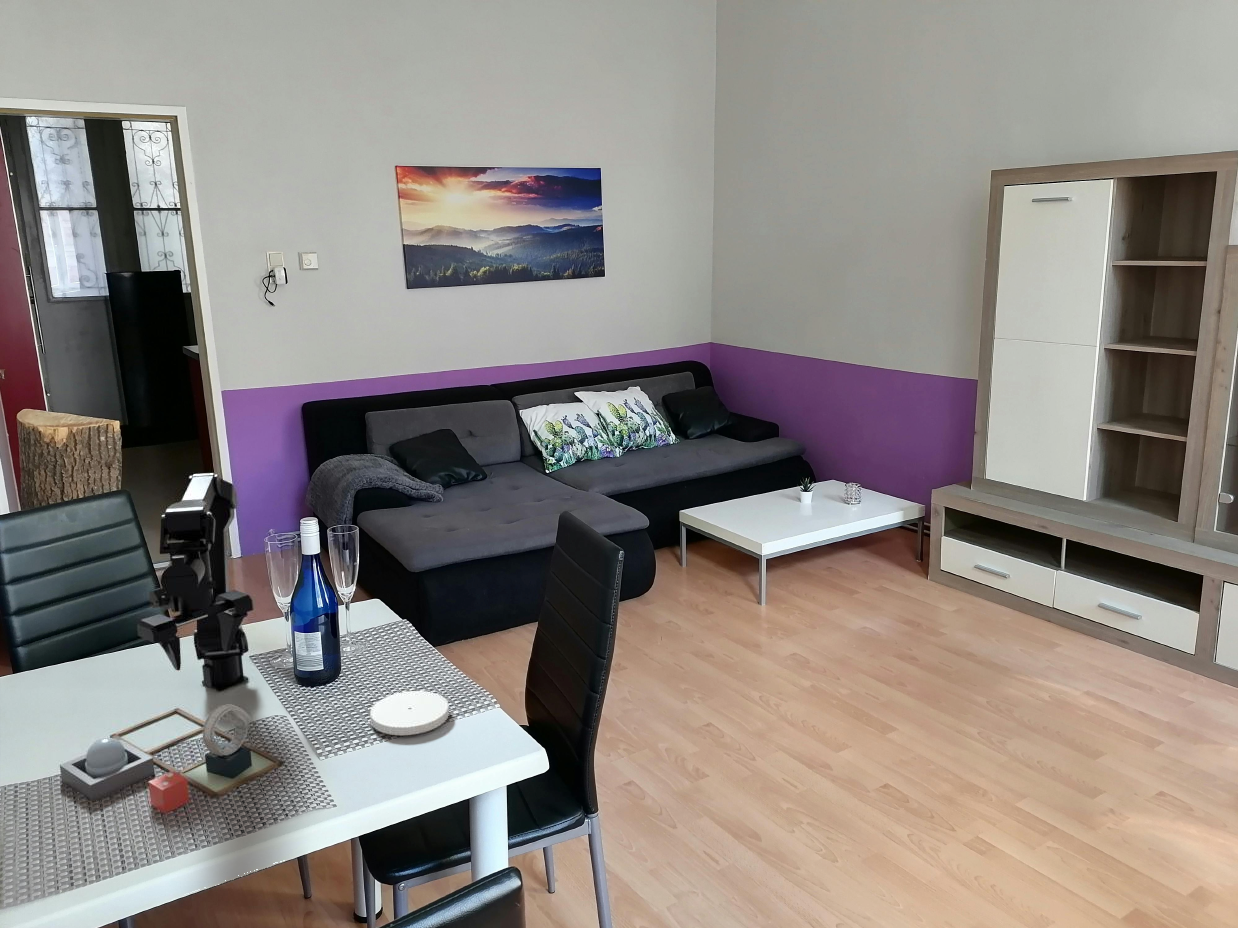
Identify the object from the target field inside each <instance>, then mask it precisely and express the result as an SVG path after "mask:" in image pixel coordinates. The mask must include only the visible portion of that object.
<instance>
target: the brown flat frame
mask: <svg viewBox="0 0 1238 928" xmlns="http://www.w3.org/2000/svg"><path fill="white" fill-rule="evenodd" d="M174 714H179V715H180V716H182V717H184V718H185V719H187V720H189V721H191V722H194V723H195V724H197V725H199V726H201V727H199V728H197V729H195V730H192V731H190V732H189V733H185V734H183V735H182V736H179V737H177V738H173V739H172V740H169V741H167V742H165V743H163V744H160V745H158V746H156V747H154V748H151V749H148V750H146V751H145V750H143V749H142V748H140V747H139V746H137V745H135V744H133V743H131V742H130V741H129V740H126V739H124V738H123V737H121V736H123V735H126V734H128V733H131V732H133V731H135V730H138V729H140V728H142V727H144V726H147V725H150V724H152V723H155V722H157V721H160V720H163V719H164V718H167V717H169V716H171V715H174ZM205 721H206V720H203V719H200V718H198V717H196V716H194V715H193V714H190V713H188V712H187V711H185V710H183V709H180V708H179V707H176V708H174V709H172V710H168V711H166V712H164V713H162V714H159V715H157V716H154V717H151V718H149V719H148V720H145V721H142V722H140V723H137V724H135V725H132V726H130V727H126V728H125V729H123V730H120V731H117V732H114V733H113V734H110V735H109V738H114V739H117V740H121V739H122V740H123V741H125V742H127V743H128V744H130V745H132V746H134V747H135V748H137V749H139V750H141V751H142V752H144V753H146V754H147V755H149V756H151V757H153V763H154V764H155V765H156V766H158V767H159V768H161V767H162V768H161V769H163V770H165V771H166V772H167V773H168V772H170V771H175V772H177V773H179V774H180V775H182V776H184V777H185V778H187V782H188V785H190V786H192V787H193V788H195V789H198V790H199V791H201V792H203V793H204V794H205V795H207V796H209V797H211V798H213V799H216V798H219V797H220V796H222V795H224V794H226V793H228V792H230V791H232V790H235V789H236V788H238V787H240V786H242V785H244V784H246V783H248V782H250V781H252V780H254V779H256V778H258V777H260V776H262V775H264V774H266V773H268V772H271V770H274V769H276V768H278V767H280V766H281V765H283V764H284V761H283V760H281V759H279V758H278V757H276V756H273V755H271V754H270V753H267V751H266V752H265V751H263V750H262V749H259V748H257V747H256V746H253V745H252V744H249V743H248V742H246V741H244V742H243V743H242V745H241V747H246V748H250V750H251V760H252V766H251V767H249V768H248V769H246V770H245V771H244V772H242V773H241V774H239V775H238V776H236V777H235V778H233V779H232V778H228V777H224V776H220V775H216V774H212V773H209V772H207V770H206V761H205V759H203V760H200V761H198V762H197V763H195V764H192V765H190V766H187V767H185V768H184V769H181V770H179V769H176V768H175V767H173V766H171V765H169V763H166V762H164V761H163V760H161V759H159V758H157V757H156V756H154V755H153V754H154V753H157V752H159V751H162V750H164V749H166V748H168V747H170V746H173V745H175V744H178V743H181V742H183V741H184V740H187V739H189V738H192V737H194V736H195V735H198V734H200V733H203V727H204V726H205V725H204V724H205ZM213 728H214V727H213ZM208 729H209V728H208ZM214 734H217V735H219V736H221V737H223V738H224V739H227V740H228V741H231V740H232V737H233V736H234V735H232V734H230V733H228V732H226V731H224V730H222V729H220V728H218V727H217V726H216V727H215V730H214Z"/></svg>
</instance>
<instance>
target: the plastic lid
mask: <svg viewBox="0 0 1238 928" xmlns="http://www.w3.org/2000/svg"><path fill="white" fill-rule="evenodd" d="M449 707H450V706H449V701H448V700H447V699H446V698H445V697H444V696H442V695H441V694H440V693H439V694H438V693H435V692H432V691H426V690H425V691H423V690H421V691H420V690H410V691H405V692H404V691H403V692H398V693H394V694H391V695H388V696H386V697H383V698H381V699H380V700H378V701H376V703H374V704H373V706H372V707H371V709H370V711H369V715H370V719H369V720H370V724H371V725H372V727H373V728H374V729H376V731H378V732H380V733H383V734H386V735H392V736H412V735H419V734H423V733H426V732H429V731H432V730H435V728H438V727H439V726H441V725H442V724H444V723H445V722H446V720H447V719H448V718H449V715H450V710H449V709H450V708H449ZM447 721H448V720H447Z"/></svg>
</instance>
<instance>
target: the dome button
mask: <svg viewBox="0 0 1238 928" xmlns="http://www.w3.org/2000/svg"><path fill="white" fill-rule="evenodd" d="M126 765H128V759H127V753H126V752H125V748H124V746H123V744H122V743H121V742H120V741H119V740H117V739H114V738H110V737H103V738H99V739H98V740H96V741H94V742H93V743H92V744H91V745H90V746H89V747H88V749H87V751H86V763H85V766H86V773H87V775H88V776H90V777H92V778H93V779H96V778H99V777H101V776H103V775H105V774H108V773H110V772H112V771H115V770H117V769H119V768H121V767H124V766H126Z"/></svg>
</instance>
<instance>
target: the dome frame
mask: <svg viewBox="0 0 1238 928" xmlns="http://www.w3.org/2000/svg"><path fill="white" fill-rule="evenodd" d="M119 741H120V742H121V743H122V744H123V746H124V748H125V752H126V753H127V759H128V765H126V766H124V767H121V768H119V769H117V770H115V771H112V772H110V773H108V774H105V775H103V776H101V777H99V778H96V779H93V778H92V777H90V776H88V775H87V773H86V766H85V763H86V754H87V753H86V754H84V755H81V756H78V757H76V758H74V759H72V760H71V759H70V760H68V761H66V762H63V763H62V764H59V769H60V776H61V781H62V783H63V784H65V785H66V786H67V787H69V788H70V789H72V790H74V792H76V793H78V792H79V793H80V795H81V794H82V795H83V796H82V795H81V796H82V797H84V798H85V797H86V798H85V799H86V800H88V799H89V800H88V801H90V802H91V801H92V802H91V803H94V801H95V802H96V800H97V801H99V800H101V798H102V799H104V798H106V797H108V796H110V795H112V793H113V794H115V793H117V792H119V791H122V790H124V789H125V788H127V787H129V786H133V785H134V784H136V783H139V782H140V781H144V780H146V779H147V778H150V777H152V776H154V775H156V773H155V772H156V771H155V765H154V763H153V757H151V756H149V755H147V754H146V753H144V752H142V751H141V750H139V749H137V748H135V747H134V746H132V745H130V744H128V743H127V742H125V741H123V740H122V739H121V740H119ZM114 792H115V793H114ZM79 793H78V794H79Z"/></svg>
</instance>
